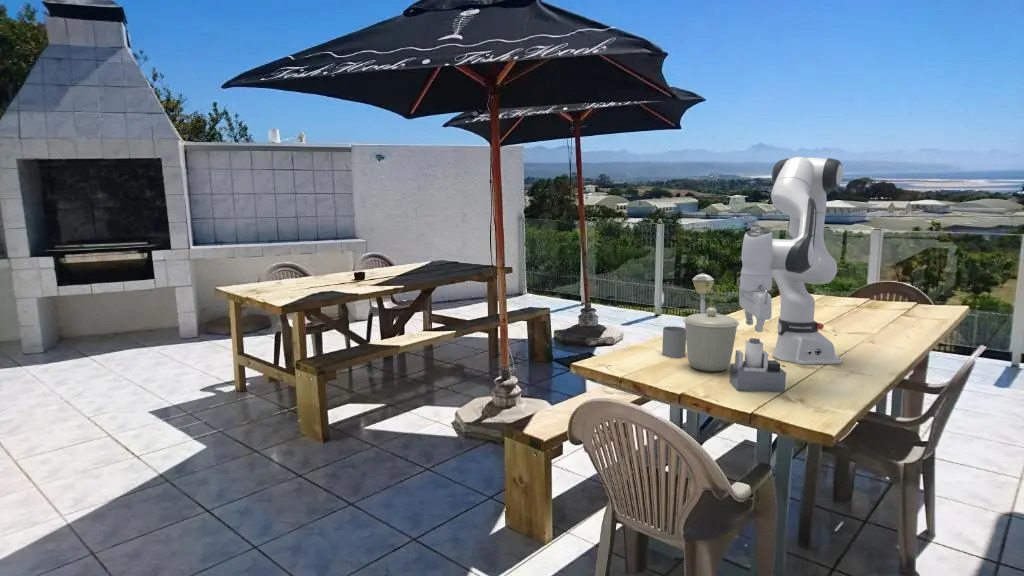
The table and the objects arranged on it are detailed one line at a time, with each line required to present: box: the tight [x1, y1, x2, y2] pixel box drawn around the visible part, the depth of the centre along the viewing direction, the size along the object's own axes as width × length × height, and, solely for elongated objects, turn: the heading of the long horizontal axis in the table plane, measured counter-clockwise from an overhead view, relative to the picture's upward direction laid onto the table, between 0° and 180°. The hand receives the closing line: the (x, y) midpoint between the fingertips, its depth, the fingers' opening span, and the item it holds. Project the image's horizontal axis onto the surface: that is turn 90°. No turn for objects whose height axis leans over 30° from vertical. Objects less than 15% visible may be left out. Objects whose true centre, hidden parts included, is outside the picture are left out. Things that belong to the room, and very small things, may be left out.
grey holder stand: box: [728, 349, 787, 393], centre depth 186 cm, size 14×9×11 cm, turn 85°
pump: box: [744, 337, 764, 368], centre depth 186 cm, size 5×5×9 cm
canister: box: [682, 306, 740, 373], centre depth 206 cm, size 18×18×21 cm
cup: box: [661, 325, 687, 359], centre depth 223 cm, size 8×8×10 cm
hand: (753, 328), depth 185 cm, fingers open, 8 cm apart
